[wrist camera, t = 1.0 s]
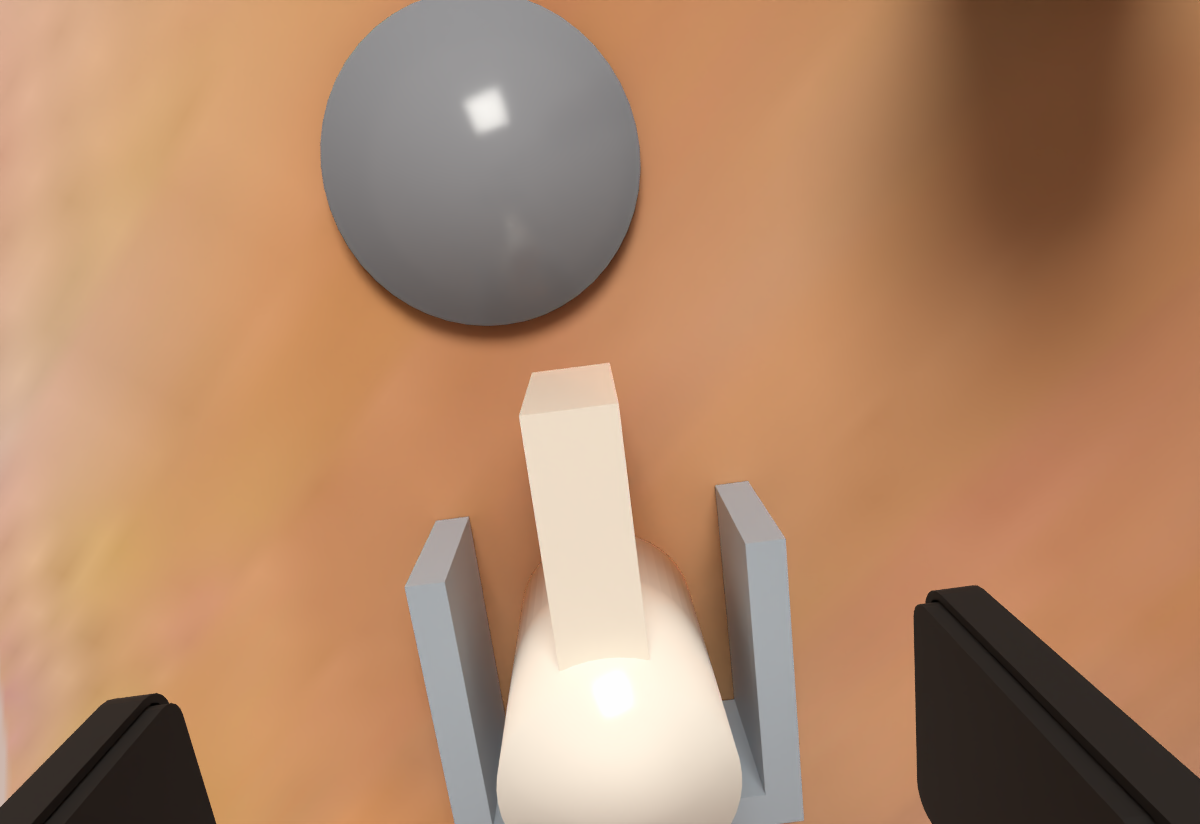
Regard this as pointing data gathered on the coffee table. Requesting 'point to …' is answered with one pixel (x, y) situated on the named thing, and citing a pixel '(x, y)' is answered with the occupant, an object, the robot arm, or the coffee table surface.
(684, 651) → the white lever knob
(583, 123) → the grey round disc
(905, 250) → the coffee table surface
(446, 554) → the holder
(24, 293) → the coffee table surface
